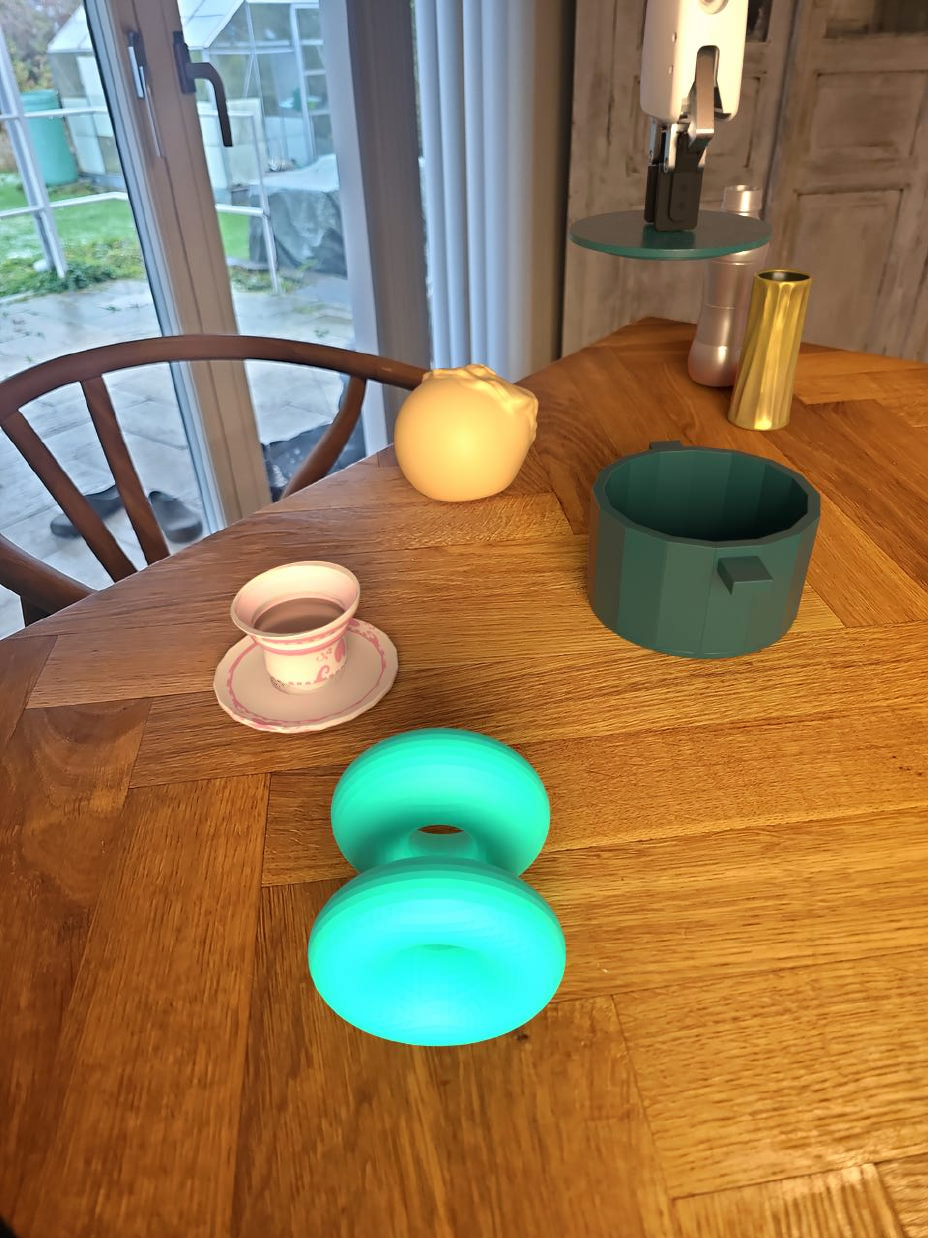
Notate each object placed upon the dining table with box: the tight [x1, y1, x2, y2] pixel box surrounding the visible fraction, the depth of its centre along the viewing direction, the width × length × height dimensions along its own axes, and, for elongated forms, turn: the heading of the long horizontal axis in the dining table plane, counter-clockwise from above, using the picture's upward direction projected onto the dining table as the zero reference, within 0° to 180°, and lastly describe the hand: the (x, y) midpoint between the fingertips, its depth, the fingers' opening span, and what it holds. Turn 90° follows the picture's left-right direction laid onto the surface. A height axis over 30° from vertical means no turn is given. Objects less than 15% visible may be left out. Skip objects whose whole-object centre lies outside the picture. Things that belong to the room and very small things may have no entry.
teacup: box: [212, 560, 399, 734], centre depth 54 cm, size 12×12×6 cm
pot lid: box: [568, 161, 774, 262], centre depth 66 cm, size 16×16×6 cm
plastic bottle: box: [687, 184, 770, 388], centre depth 90 cm, size 6×7×20 cm
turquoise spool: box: [307, 727, 567, 1047], centre depth 36 cm, size 10×10×10 cm
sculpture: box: [393, 363, 539, 503], centre depth 74 cm, size 11×12×11 cm
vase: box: [726, 267, 813, 432], centre depth 83 cm, size 6×6×14 cm
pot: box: [585, 439, 822, 660], centre depth 59 cm, size 15×20×8 cm
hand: (669, 223), depth 66 cm, fingers closed on pot lid, 2 cm apart
